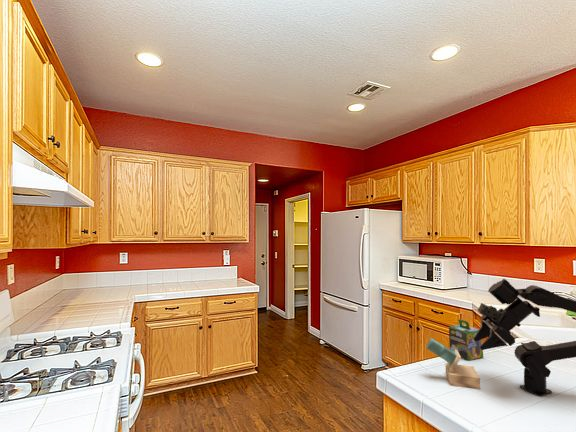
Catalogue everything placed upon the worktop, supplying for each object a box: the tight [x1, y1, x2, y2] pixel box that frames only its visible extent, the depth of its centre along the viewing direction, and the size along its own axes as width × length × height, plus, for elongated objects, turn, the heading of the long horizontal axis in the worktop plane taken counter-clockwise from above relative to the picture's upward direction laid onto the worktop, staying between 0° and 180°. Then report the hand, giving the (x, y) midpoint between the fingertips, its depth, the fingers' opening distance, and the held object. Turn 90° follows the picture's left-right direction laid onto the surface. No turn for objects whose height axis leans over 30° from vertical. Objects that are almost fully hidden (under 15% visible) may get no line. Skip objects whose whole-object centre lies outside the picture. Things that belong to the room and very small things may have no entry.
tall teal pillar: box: [426, 337, 462, 372], centre depth 116 cm, size 6×8×10 cm
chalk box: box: [448, 318, 484, 361], centre depth 137 cm, size 9×9×15 cm
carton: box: [445, 362, 481, 390], centre depth 114 cm, size 9×10×4 cm
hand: (477, 344), depth 113 cm, fingers open, 9 cm apart
